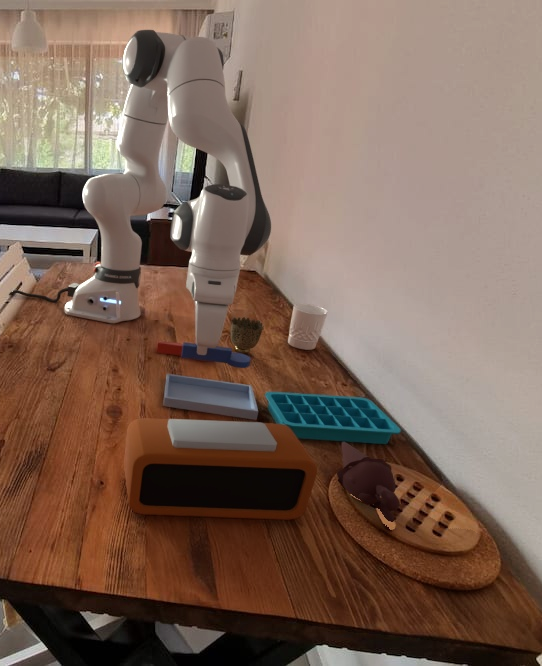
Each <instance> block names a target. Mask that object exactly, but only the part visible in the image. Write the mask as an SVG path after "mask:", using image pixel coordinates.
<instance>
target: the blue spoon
mask: <svg viewBox="0 0 542 666" xmlns="http://www.w3.org/2000/svg"><path fill="white" fill-rule="evenodd" d="M182 344H183V348H182V356H181V358H182V359H190V360H196V359H198V360H197V361H199V360H205V361H204V362H214V363H222V364H227V365H229V366H230V367H232V368H233V367H234V368H237V369H247V368H249V367H251V360H252V358H251V356H249V355H248V354H242V353H237V352H233V349H232V347H226V346H219V345H218V346H217V347H216V348H209V347H208V348H207V354H206V355H198V354H197V345H196V343H193V342H185V341H183V342H182Z"/></svg>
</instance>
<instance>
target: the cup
mask: <svg viewBox="0 0 542 666" xmlns="http://www.w3.org/2000/svg"><path fill="white" fill-rule="evenodd" d="M264 328H265V325H263V322H261V320H256V321H255V318H253V319H250V318H249V317H247V318H246V317H242V318H241V317H238V318H236V317H233V318H232V319H231V322H230V340H231V343H232V345H233V346H234V349H233V350H234V352H235V353H242V354H245V355H249V354H250V352H251V349H253V348H255V347H256V346H257V345H258V343H259V340H260V338H261V335H262V332H263V330H264Z"/></svg>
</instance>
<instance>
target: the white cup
mask: <svg viewBox="0 0 542 666" xmlns="http://www.w3.org/2000/svg"><path fill="white" fill-rule="evenodd" d="M291 313H292V314H291V318H290V324H289V330H288V332H289V334H288V338H287V343H288V345H289V346H291V347H293V348H295V349H298V350H305V351H308V350H309V351H312V350H314V349H316V347H317V344H318V341H319V338H320V336H321V333H322V330H323V328H324V325H325V323H326V319H327V316H328V313H329V311H328V310H327V309H326V308H324V307H321V306H319V305H315V304H311V303H296V304H294V305H293V307H292V312H291Z"/></svg>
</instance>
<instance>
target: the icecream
mask: <svg viewBox="0 0 542 666" xmlns="http://www.w3.org/2000/svg"><path fill="white" fill-rule="evenodd" d="M341 454H342V465H343V468H341V469H339V470H337V472H336V476H337V482H338V483H339V484H340V485H341V486H342V488H343V489H344V490H346V492H347V493H348V494H349V493H350V494H352V495H353V496H355V497H356V498H358V499H360V500H361V501H362V502H361V503H362V504H365V505H366V506H367V505H368V506H370V505H369V504H374V505H375V506H376V508H378V509H380V511H381V512H382V514H383V515H384V517H385V518H386V519H387V520H388V521H391V522H393V521H394V520H395V521H396V519H395V516H394V514H393V512H396V511H397V510H398V509H399V508H400V506H401V503H400V502H401V501H400V500H399V497H398V496H397V495H396V493H395V491H396V481H395V477H394V474H393V471H392V466H391V465H390V464H389V463H387V462H386V461H385V460H384V459H382V458H375V457H374V458H373V457H370V456H368V455H367V454H365V453H363V452H362V451H361V450H359V449H358V448H356V447H355V446H353V445H351V444H349V443H348V442H347V441H341ZM353 500H356V499H355V498H353ZM374 505H373V506H374ZM382 526H383V527H384V528H385V530H387V531H389V532H393V531H392V530H390V529H389V527H387V525H386V526H385V524H382Z"/></svg>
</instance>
